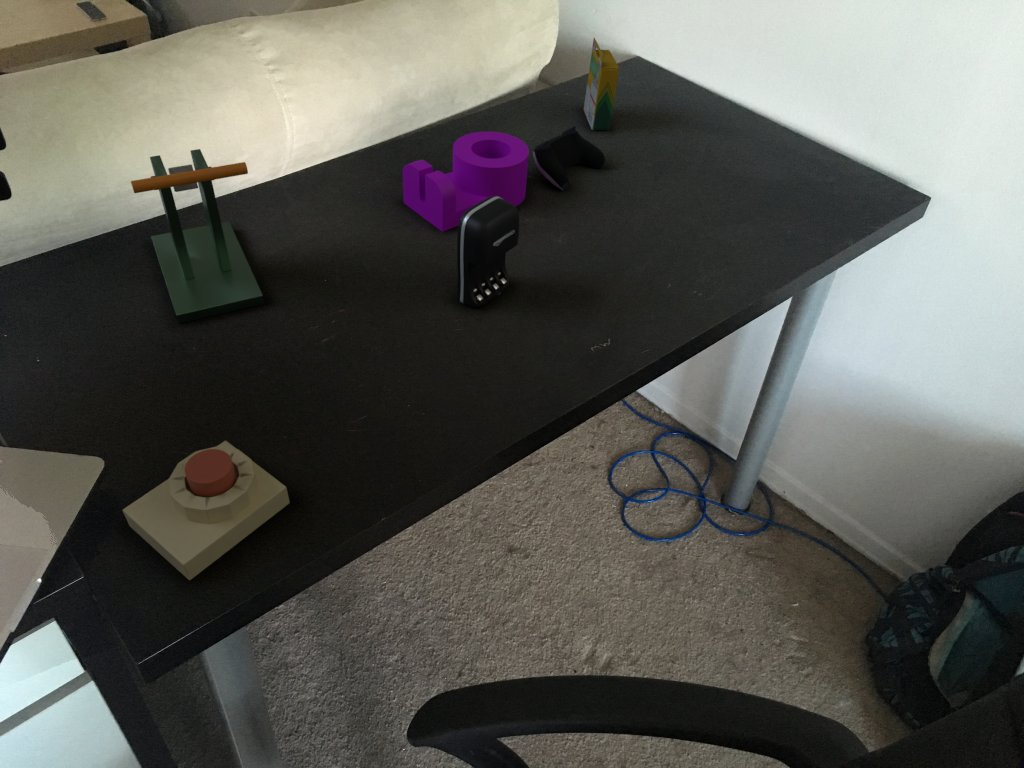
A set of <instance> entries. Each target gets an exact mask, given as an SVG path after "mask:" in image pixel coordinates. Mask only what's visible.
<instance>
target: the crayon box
mask: <svg viewBox="0 0 1024 768" xmlns="http://www.w3.org/2000/svg"><path fill="white" fill-rule="evenodd" d="M619 74H620V67H619V65H618V63H617V61H616V60H615V58H614V55H613V54H612V52H611V50H609V49H601V47H600V45H599V43H598V41H597V40H596V38H595V37H593V40H592V48H591V55H590V63H589V70H588V77H587V83H586V90H585V96H584V104H583V112H584V115H585V118H586V120H587V123H588V125H589V127H590V129H591V131H610V128H611V122H612V117H613V109H614V104H615V99H616V98H615V96H616V92H617V86H618V80H619Z"/></svg>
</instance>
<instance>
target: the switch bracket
mask: <svg viewBox="0 0 1024 768" xmlns="http://www.w3.org/2000/svg"><path fill="white" fill-rule="evenodd" d="M189 151H190V152H189V153H190V156H191V160H192V165H193V169H194V170H200V169H206V168H212V166H208V165H209V164H208V163H207V160H206V159H205V156H204V153H202V151H201V148H198V149H191V150H189ZM149 159H150V163H151V167H152V171H153V174H154V175H151V176H150V178H152V177H158V176H164V175H168V172H167V170H166V167H165V164H164V162H163V159H162V157H161V155H153V156H149ZM197 185H198V190H199V193H200V197H201V202H202V206H203V210H204V215H205V219H206V223H207V225H201V226H196V227H192V228H187V229H182V224H181V220H180V217H179V214H178V209H177V206H176V201H175V198H174V195H173V190H172V187H169V188H163V189H157V190H156V191H158V192H159V196H160V199H161V203H162V207H163V210H164V213H165V219H166V222H167V224H168V228H169V232H166V233H161V234H156V235H151V236H150V239H151V242H152V245H153V249H154V252H155V255H156V258H157V260H158V264H159V267H160V270H161V274H162V276H163V278H164V282H165V286H166V288H167V291H168V295H169V298H170V301H171V304H172V307H173V309H174V313H175V316H176V320H177V323H178V324H179V325H181V324H185V323H189V322H193V321H197V320H202V319H205V318H206V319H207V318H210V317H215V316H218V315H219V316H220V315H224V314H227V313H231V312H236V311H240V310H244V309H248V308H253V307H257V306H261V305H264V304H265V300H264V295H263V292H262V291H261V288H260V286H259V283H258V281H257V279H256V277H255V275H254V272H253V271H252V268H251V266H250V264H249V261H248V259H247V258H246V255H245V253H244V251H243V249H242V246H241V244H240V242H239V240H238V238H237V235H236V233H235V231H234V229H233V227H232V225H231V222H230V221H227V220H226V221H222V220H221V215H220V212H219V207H218V203H217V197H216V194H215V190H214V185H213V180H209V181H203V182H197Z"/></svg>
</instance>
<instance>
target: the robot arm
mask: <svg viewBox="0 0 1024 768" xmlns="http://www.w3.org/2000/svg"><path fill="white" fill-rule="evenodd" d="M6 148H7V141H6V138H5V136H4V133H3V130H2V128H1V127H0V151H4V150H6ZM12 193H13V192H12V188H11V186H10V184H9V181H8V178H7V176H6V174H5V172H3V171H2V170H0V202H3V201H8V200H10V199H12V195H13V194H12Z"/></svg>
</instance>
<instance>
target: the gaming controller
mask: <svg viewBox="0 0 1024 768" xmlns="http://www.w3.org/2000/svg"><path fill="white" fill-rule="evenodd" d="M532 157H533V160H534V164H535V166H536V167H537V169H538V171H539V172H540V173H541V174H542V175H543V177H544V178H545V179H547V181H549V182H550V183H551V184H552V185H553V186H555V187H557V188H558V189H559V190H561V191H564V190H567V189H568V188H569V187H570V180H569V177H568V174H567V172H566V169H567V168H569V167H571V166H573V165H575V164H576V163H577V162H580V163H583V164H585V165H587V166H590V167H592V168H595V169H601V168H602V167H603V166H604V165H605V163H606V157H605V154H604V153H603V151H602V150H601V149H600V148H599V147H598V146H596V145H595V144H593V143H591V142H590V141H588V140H587V139H585V138H584V137H583V136H582V135H581V134H580V133H579V132H578V130H577V129H576V125H574V126H572V127H570V128H567V129H566V130H564V131H562V133H561V134H560V135H557V136H555V137H553V138H551V139H549V140H546V141H544V142H542V143H540V144H538V145H537V146H535V147H534V149H533V152H532Z"/></svg>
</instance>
